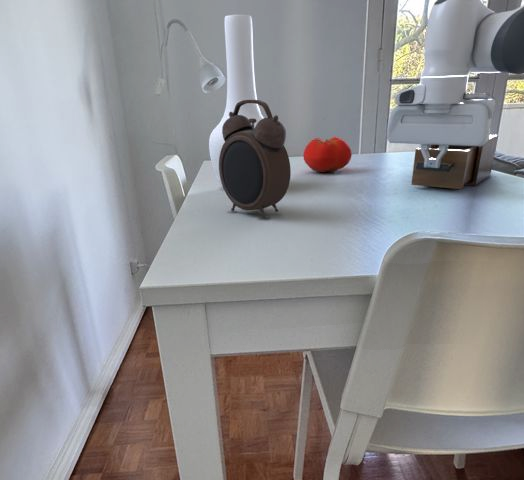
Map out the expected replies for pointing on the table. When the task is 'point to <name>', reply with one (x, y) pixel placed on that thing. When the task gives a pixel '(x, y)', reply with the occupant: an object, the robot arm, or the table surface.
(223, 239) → the table surface
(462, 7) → the robot arm
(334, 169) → the tomato
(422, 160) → the drawer
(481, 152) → the cabinet
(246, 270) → the table surface
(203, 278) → the table surface
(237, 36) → the vase
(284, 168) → the alarm clock
